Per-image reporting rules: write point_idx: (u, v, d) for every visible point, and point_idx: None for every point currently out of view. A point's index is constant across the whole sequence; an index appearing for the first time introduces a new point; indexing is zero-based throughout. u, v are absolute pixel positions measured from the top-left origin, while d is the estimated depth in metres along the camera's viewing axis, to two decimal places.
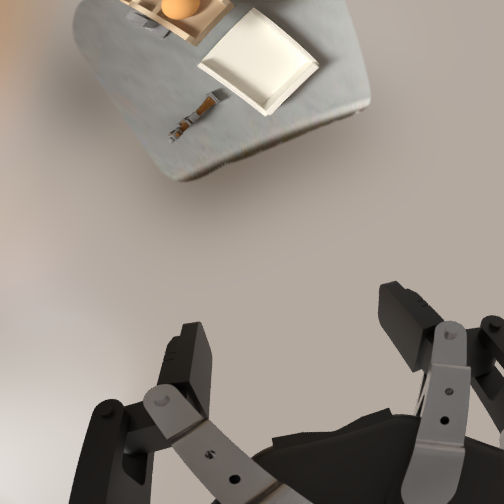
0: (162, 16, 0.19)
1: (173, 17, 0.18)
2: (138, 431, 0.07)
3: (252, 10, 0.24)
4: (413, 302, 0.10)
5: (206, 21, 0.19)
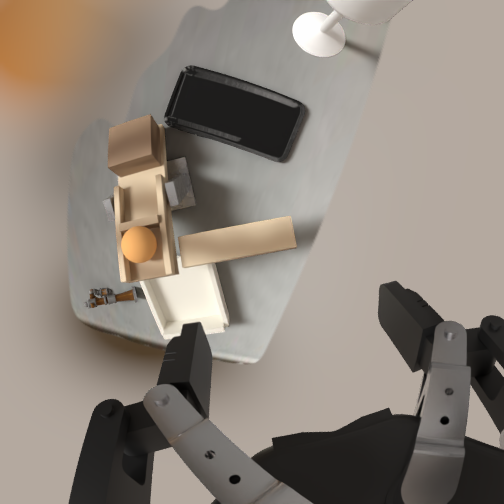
0: (124, 233, 0.27)
1: None
2: (138, 431, 0.07)
3: None
4: (413, 302, 0.10)
5: (148, 273, 0.27)
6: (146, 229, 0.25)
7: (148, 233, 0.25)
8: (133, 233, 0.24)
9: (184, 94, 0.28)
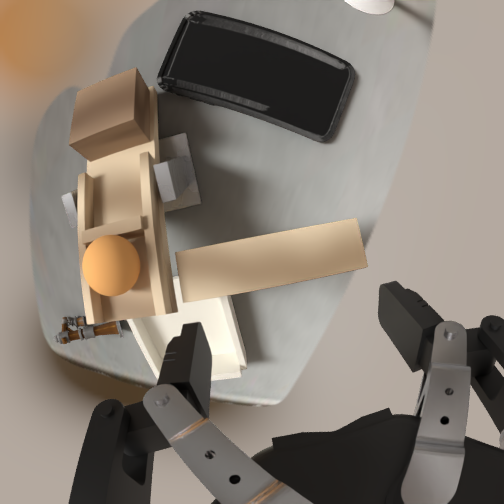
0: None
1: None
2: (138, 431, 0.07)
3: None
4: (413, 302, 0.10)
5: (128, 311, 0.16)
6: (121, 240, 0.15)
7: (124, 247, 0.14)
8: (98, 247, 0.14)
9: (186, 47, 0.18)
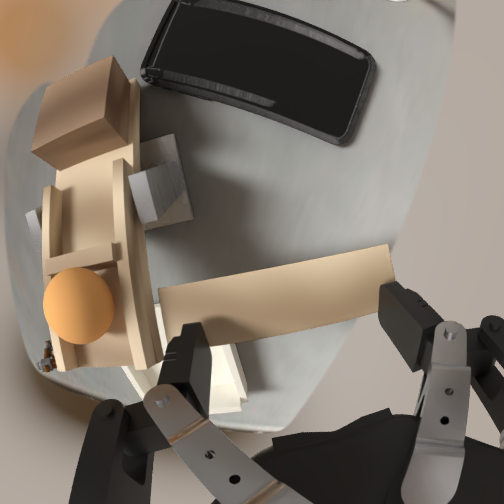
0: None
1: None
2: (138, 431, 0.07)
3: None
4: (413, 302, 0.10)
5: (104, 357, 0.12)
6: (88, 276, 0.11)
7: (91, 286, 0.10)
8: (59, 287, 0.10)
9: (176, 32, 0.14)
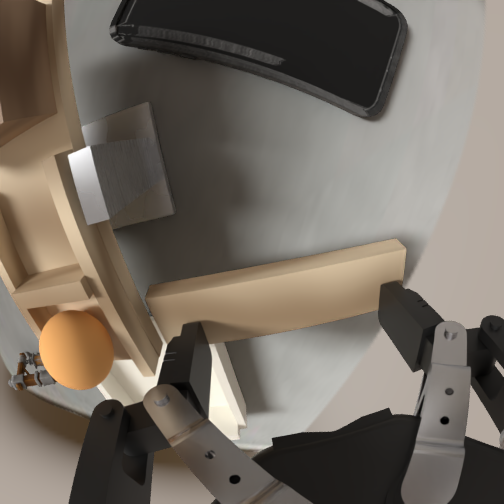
0: None
1: None
2: (138, 431, 0.07)
3: None
4: (413, 302, 0.10)
5: None
6: (79, 350, 0.09)
7: (89, 358, 0.09)
8: (63, 376, 0.08)
9: None
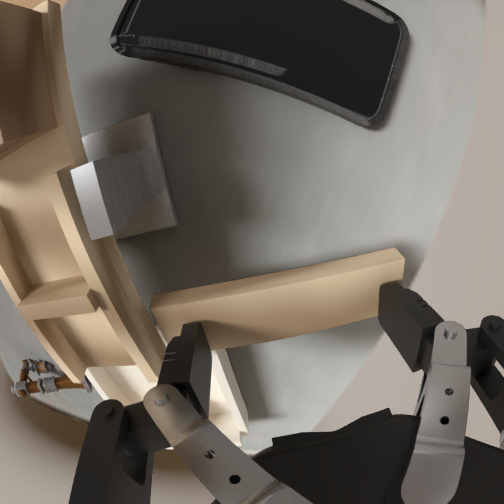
0: None
1: None
2: (138, 431, 0.07)
3: None
4: (413, 302, 0.10)
5: (111, 360, 0.13)
6: None
7: None
8: None
9: None
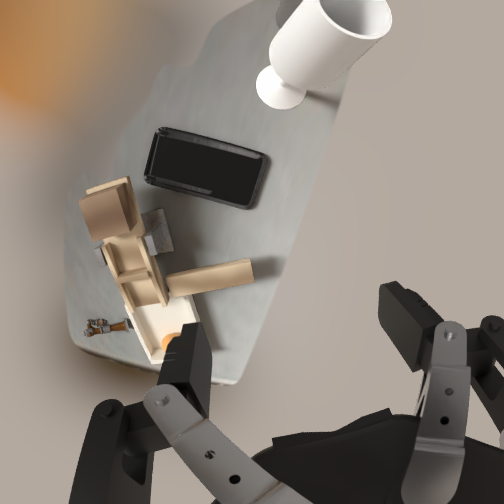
0: None
1: None
2: (138, 431, 0.07)
3: (184, 296, 0.39)
4: (413, 302, 0.10)
5: (147, 302, 0.37)
6: None
7: None
8: None
9: (159, 154, 0.34)
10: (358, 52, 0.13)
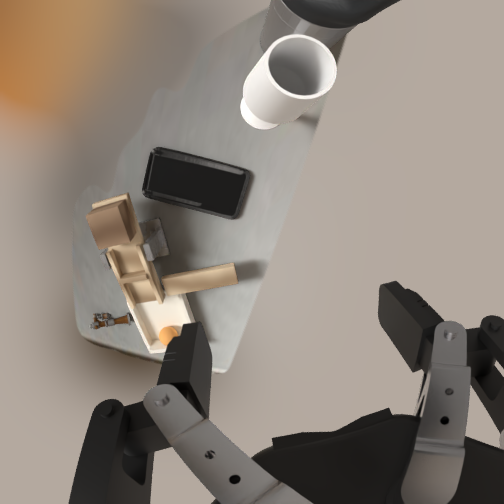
0: None
1: None
2: (138, 431, 0.07)
3: (178, 294, 0.45)
4: (413, 302, 0.10)
5: (146, 299, 0.42)
6: None
7: None
8: None
9: (155, 171, 0.39)
10: (307, 104, 0.18)
